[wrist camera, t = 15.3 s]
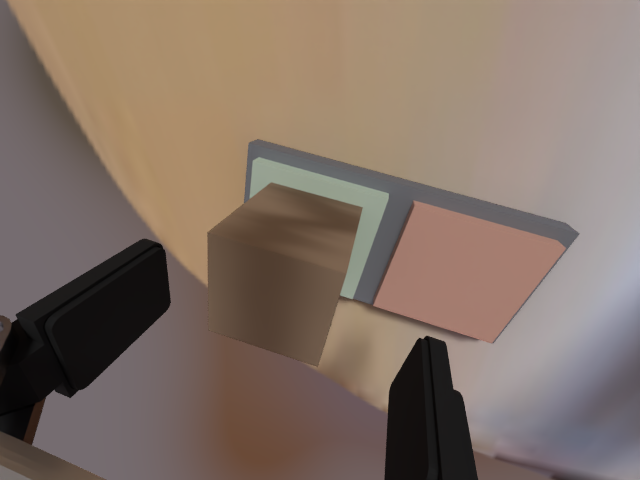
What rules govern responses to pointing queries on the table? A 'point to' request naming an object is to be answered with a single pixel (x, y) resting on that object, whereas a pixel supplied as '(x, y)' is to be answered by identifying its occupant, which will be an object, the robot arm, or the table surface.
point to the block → (280, 270)
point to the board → (425, 242)
